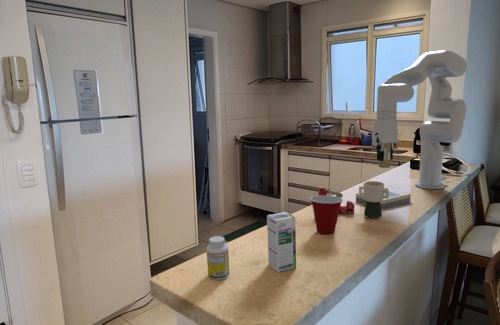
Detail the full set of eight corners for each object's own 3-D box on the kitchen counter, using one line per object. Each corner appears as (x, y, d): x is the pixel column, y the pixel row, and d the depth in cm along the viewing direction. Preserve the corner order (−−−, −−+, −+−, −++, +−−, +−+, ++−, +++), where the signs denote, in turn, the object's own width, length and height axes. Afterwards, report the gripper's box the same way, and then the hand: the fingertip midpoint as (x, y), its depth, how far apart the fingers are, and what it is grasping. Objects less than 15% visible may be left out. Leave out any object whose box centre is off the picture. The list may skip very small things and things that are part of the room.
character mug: (390, 216, 132) (392, 183, 130) (384, 222, 127) (386, 187, 124) (361, 212, 139) (362, 179, 136) (355, 217, 133) (355, 183, 131)
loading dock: (385, 194, 161) (385, 187, 160) (410, 202, 149) (410, 193, 149) (355, 201, 152) (356, 193, 152) (379, 209, 141) (379, 200, 141)
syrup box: (277, 273, 93) (276, 220, 91) (267, 263, 99) (266, 213, 96) (296, 268, 95) (296, 216, 93) (285, 259, 101) (285, 210, 98)
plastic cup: (343, 227, 123) (344, 194, 121) (340, 239, 113) (341, 203, 111) (312, 224, 127) (312, 192, 125) (306, 236, 117) (307, 201, 115)
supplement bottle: (218, 268, 97) (217, 233, 95) (233, 274, 93) (232, 237, 91) (203, 276, 92) (201, 239, 91) (218, 283, 89) (216, 245, 87)
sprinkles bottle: (392, 167, 146) (393, 135, 144) (382, 168, 146) (383, 136, 143) (385, 165, 151) (387, 134, 148) (376, 166, 150) (377, 134, 147)
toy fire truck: (355, 214, 136) (355, 190, 135) (318, 214, 138) (319, 190, 136) (353, 211, 140) (354, 187, 138) (318, 211, 141) (318, 187, 139)
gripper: (393, 114, 151) (391, 156, 155) (364, 116, 144) (362, 160, 147) (408, 114, 145) (406, 158, 148) (378, 117, 137) (376, 163, 140)
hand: (384, 159), depth 148 cm, fingers closed on sprinkles bottle, 4 cm apart
